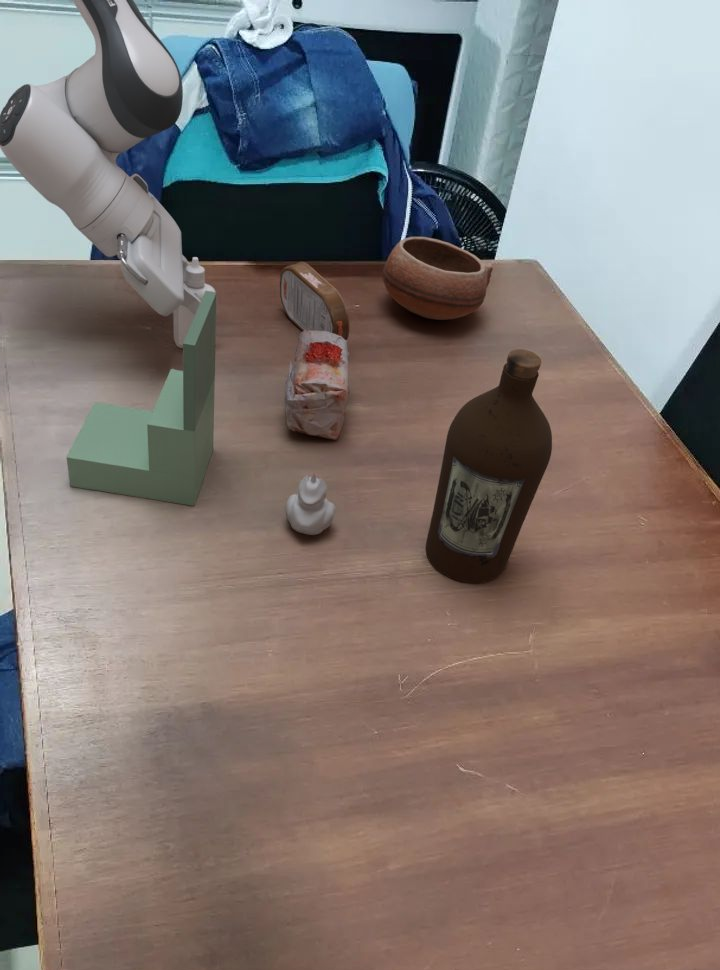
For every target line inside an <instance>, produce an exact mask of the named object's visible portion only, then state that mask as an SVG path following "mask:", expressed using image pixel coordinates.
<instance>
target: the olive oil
mask: <svg viewBox="0 0 720 970" xmlns="http://www.w3.org/2000/svg"><path fill="white" fill-rule="evenodd" d="M541 365H542V359H541V357H540V356H539V355H538V354H537V353H535V352H533V351H530V350H528V349H521V348H519V349H518V348H517V349H516V348H515V349H512V350H511V351H509V352H508V354H507V357H506V363H504V365H503V368H502V371H501V375H500V381H499V384H498V385H497V386H496V387H493V388H492V389H489V390H488V391H485V392H484V393H481V394H479V395H477V396H475V397H473V398H472V399H470V400H468V401H467V402H466V403H464V405H462V407H461V408H460V409H459V410H458V412H457V413H456V415H455V416H454V418H453V420H452V421H451V423H450V425H449V427H448V431H447V434H446V438H445V444H444V451H443V456H442V462H441V467H440V473H439V479H438V483H437V489H436V494H435V498H434V505H433V510H432V513H431V518H430V524H429V527H428V533H427V537H426V542H425V553H426V556H427V559H428V561H429V562H430V564H431V565H432V566H433V567H434V568H435V569H436V570H437V571H438V572H439V573H441V574H443V575H444V576H446V577H448V578H450V579H453V580H455V581H459V582H463V583H469V584H480V583H486V582H490V581H493V580H495V579H497V578H498V577H499V576H501V575H502V574H503V572H504V571H505V570H506V567H507V565H508V562H509V560H510V558H511V555H512V553H513V550H514V548H515V546H516V542H517V539H518V538H519V534H520V533H521V529H522V527H523V525H524V522H525V521H526V518H527V515H528V512H529V511H530V508H531V505H532V503H533V501H534V499H535V496H536V494H537V492H538V489H539V486H540V484H541V482H542V480H543V477H544V475H545V472H546V470H547V468H548V465H549V463H550V460H551V457H552V453H553V452H552V451H553V433H552V428H551V425H550V423H549V420H548V418H547V416H546V415H545V413H544V412H543V411H542V409H541V407H540V405H539V404H538V402H537V401H536V399H535V398H534V396H533V392H534V390H535V387H536V385H537V382H538V378H539V376H540V374H539V370H540V368H541Z"/></svg>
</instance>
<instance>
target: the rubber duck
mask: <svg viewBox="0 0 720 970" xmlns="http://www.w3.org/2000/svg"><path fill="white" fill-rule="evenodd" d="M297 488H298V489H297V494H296V493H294V494H291V495H289V497H288V499H287V502H286V503H285V515H286V518H287V520H288V521H289V523H290V527H291V528H292V529H293V530H294V531H295V532H297V533H301V534H303V535H308V536H315V535H319V534H321V533H322V532H323V531H324V530H326V529H327V528H329V527H330V526H331V525H332V523H333V520H334V517H335V514H336V507H335V505H334V503H332V501H329V500H328V499H327V498H326V497H327V491H328V486H327V484H326V482H325V481H324V480H323V479H322V478H321V477H320V478H318V477H316V474H315V472H313V473H312V474H311V476H309V475H307V474H306V475H305V476H304V477H303V478H302V479H301V480H300V481H299V484H298V487H297Z"/></svg>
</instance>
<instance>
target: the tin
mask: <svg viewBox="0 0 720 970" xmlns="http://www.w3.org/2000/svg"><path fill="white" fill-rule="evenodd" d="M279 297H280V302H281V304H282V307H283V310H284V312H285V314H286V316H287V318H289V320H290V321H291V322H292V323H293V324H294V325H295V326H296V327H297V328H298V329H299V330H300V331H301V332H303V331H306V330H310V331H327V332H330V333H333V334H336V335H339V336H341V337H342V338H344V339H345V340H347V341H348V339H349V336H350V328H351V327H350V325H351V324H350V316H349V311H348V307H347V305H346V303H345V300H344V298H343V297H342V295H341V293H340V292H339V291H338V289H336V288H335V286H333V285H332V284H331V283H330V282H329V281H328V280H327V279H325V278H324V277H323V276H321V275H320V274H319V273H318V272H317V271H316V270H315V269H314V268H313V267H312V266H311V265H309V264H308V263H307V262H304V261H299V262H296V263H294V264H289V265H287V266H284V268H282V270H281V272H280V276H279Z"/></svg>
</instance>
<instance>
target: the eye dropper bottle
mask: <svg viewBox="0 0 720 970" xmlns="http://www.w3.org/2000/svg"><path fill="white" fill-rule="evenodd" d="M184 284H185V285H186V286H187V289H188V290H189V291H191V292H192V293H193V294H195V293H196V294H197V295H198V296H199V297H200V298H201V299H202V298H203V295H204V293H205V291H211V292H216V290H215V288H214V287H213V286H212V285H210V284H207V283H206V269H205V267H203V266H202V265H200V262H199V258H198V257H197V256H193V257H192V260H191V264H190V265H189V266H187V267H186V283H184ZM172 313H173V315H172V318H173V319H172V321H173V322H172V323H173V324H172V325H173V341H174V344H175V345H176V347H178V348H179V349H183V342H184V340H185V337H186V335H187V333H188V330H189V328H190V326H191V323H192V321H193V319H194V316H195V314H193V313H192V312H191V311H190V310H189V309H188V308H187V307H185V306H182V305H180V306H179V307H178V308H177V309H175V310H174V311H173V312H172ZM217 314H218V298H217V299H216V325H217V323H218V322H217V320H218V319H217V317H218V315H217Z"/></svg>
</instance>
